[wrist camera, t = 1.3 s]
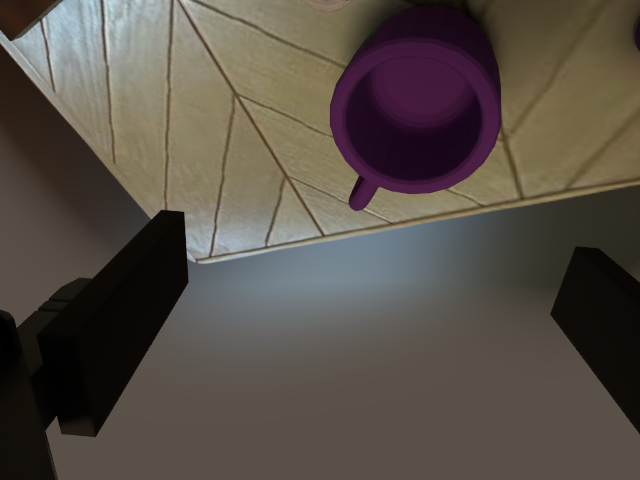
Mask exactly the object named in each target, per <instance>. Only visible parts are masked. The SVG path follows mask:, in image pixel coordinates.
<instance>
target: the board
mask: <svg viewBox="0 0 640 480" xmlns="http://www.w3.org/2000/svg"><path fill="white" fill-rule="evenodd" d="M61 1H63V0H0V30H1V31H2V32H3V34H4V35H5V36H6V37H7V38H8V39H9V41H13V40H15V39H17V38H20V37H22V36H23V35H24V34H25V33H26V32H27V31H28V30H30V29H31V28H32V27H33V26H34V25H35V24H36V23H37V22H39V21H40V20H41V19H42V18H43V17H44V16H45V15H47V14H48V13H49V12H50V11H51V10H52V9H53V8H55V7H56V6H57V5H58V4H59V3H60V2H61Z"/></svg>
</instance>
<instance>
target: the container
mask: <svg viewBox="0 0 640 480" xmlns="http://www.w3.org/2000/svg"><path fill="white" fill-rule="evenodd" d="M634 41H635V44H636V46H637V48H638V50H639V51H640V16H639V18H638V20H637V22H636V25H635V29H634Z"/></svg>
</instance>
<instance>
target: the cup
mask: <svg viewBox="0 0 640 480" xmlns="http://www.w3.org/2000/svg"><path fill="white" fill-rule="evenodd" d="M302 1H303V2H304V3H306V4H307V5H309V6H310V7H311V8H313V9H314V10H318V11H323V12H332V11H336V10H341V9H342V8H343V7H345V6H346V5H347V4H348V3H350V2H351V1H352V0H302Z"/></svg>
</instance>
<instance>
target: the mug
mask: <svg viewBox="0 0 640 480" xmlns="http://www.w3.org/2000/svg"><path fill="white" fill-rule="evenodd" d="M501 123H502V121H501V84H500V76H499V69H498V65H497V62H496V59H495V56H494V53H493V50H492V47H491V44H490V42H489V40H488V39H487V38H486V36H485V35H484V33H483V32H482V30H481V29H480V28H479V26H478V25H477V24H476V23H475V22H474V21H473V20H471V19H470V18H469V17H467V16H466V15H465V14H464V13H462V12H459V11H457V10H454V9H451V8H448V7H445V6H431V5H424V6H420V7H415V8H410V9H407V10H405V11H403V12H401V13H399V14H397V15H395V16H393V17H391V18H389V19H387V20H386V21H385V22H383V23H382V24H381V25H380V26H379V27H378V28H377V29H376V30H375V31H374V32H373V33H372V34H371V35H370V36H369V37H368V38H367V39H366V40H365V41H364V42H363V44H362V45H361V46H360V48H359V49H358V50H357V51H356V53H355V55H354V56H353V58H352V59H351V61H350V63H349V64H348V66H347V67H346V69H345V70H344V72H343V74H342V75H341V77H340V79H339V80H338V82H337V84H336V87H335V90H334V94H333V97H332V101H331V104H330V127H331V130H332V134H333V137H334V141H335V144H336V145H337V147H338V149H339V150H340V152H341V154H342V156H343V157H344V159H345V161H346V162H347V163H348V164H349V165H350V166H351V167H352V168H353V169H354V170H355V171H356V172H357V173H358V174H359V177H358V179H357V181H356V184H355V186H354V188H353V190H352V192H351V195H350V198H349V205H350V207H351V209H353V210H355V211H359V210H362V209H364V208H365V207H366V206H367V205H368V203H369V202H370V200H371V199H372V197H373V196H374V194H375V192H376V191H377V189H378V187H382V188H384V189H387V190H390V191H394V192H401V193H407V194H421V193H432V192H436V191H439V190H443V189H447V188H450V187H452V186H453V185H455V184H457V183H459V182H461V181H462V180H464V179H466V178H468V177H469V176H470V175H471V174H472V173H473V172H475V171H476V170H477V169H478V168H479V167H480V166H481V165H482V164H483V163H484V162H485V160H486V159H487V157H488V155H489V154H490V152H491V151H492V149H493V148H494V146H495V143H496V140H497V137H498V134H499V130H500V127H501Z"/></svg>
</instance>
